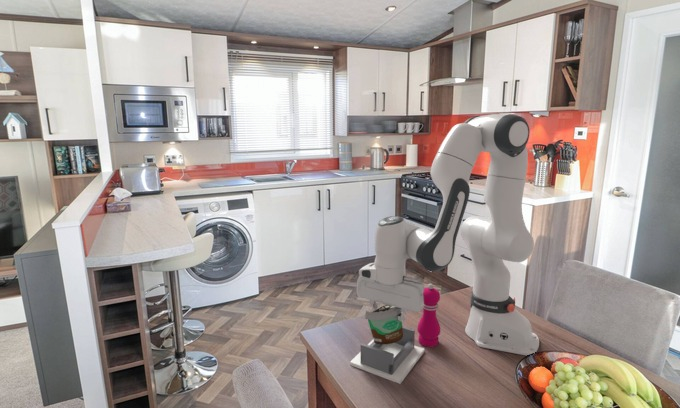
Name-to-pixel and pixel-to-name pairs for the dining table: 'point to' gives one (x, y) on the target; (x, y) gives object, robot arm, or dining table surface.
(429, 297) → the pepper mill
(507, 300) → the robot arm
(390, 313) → the food container
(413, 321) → the dining table surface
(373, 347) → the slot stand
